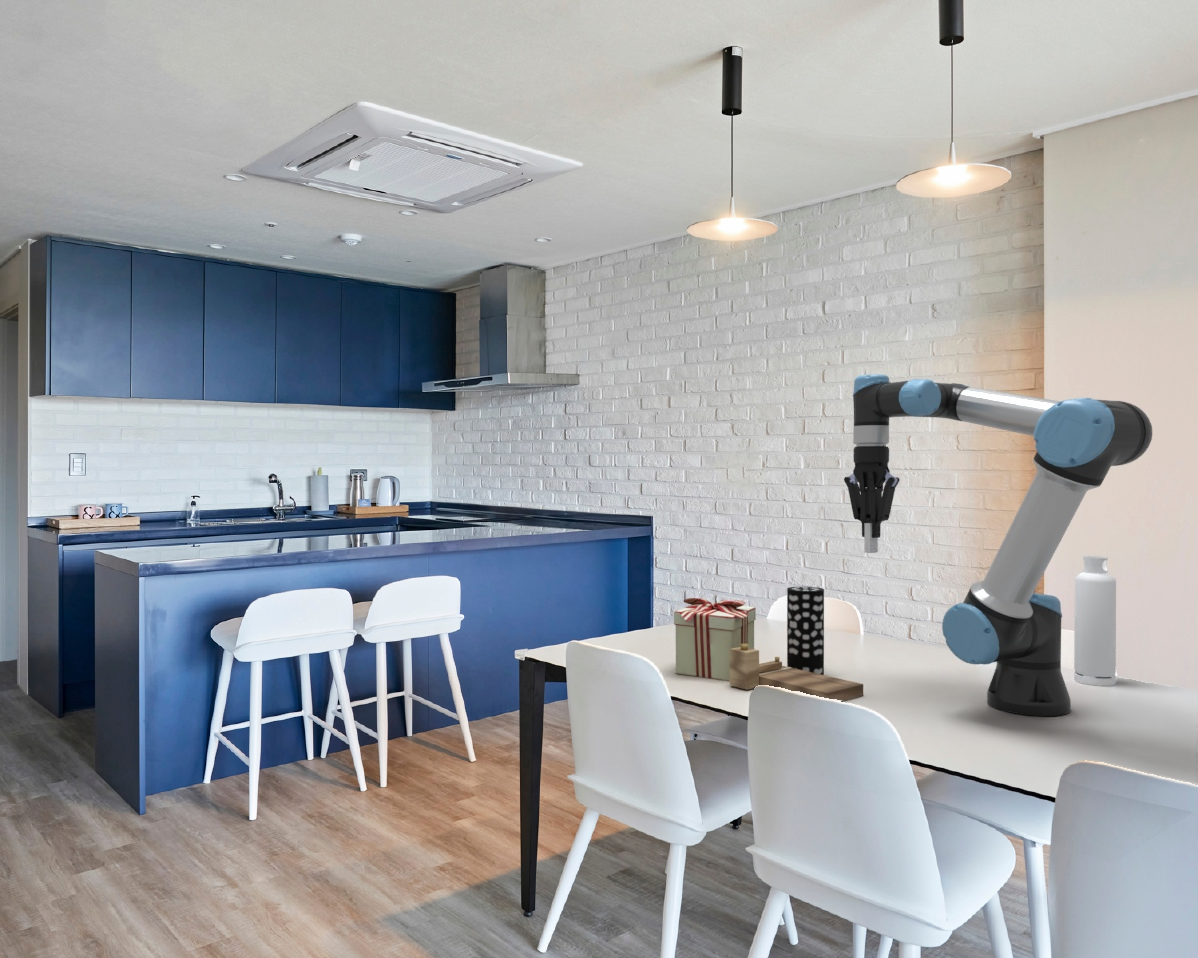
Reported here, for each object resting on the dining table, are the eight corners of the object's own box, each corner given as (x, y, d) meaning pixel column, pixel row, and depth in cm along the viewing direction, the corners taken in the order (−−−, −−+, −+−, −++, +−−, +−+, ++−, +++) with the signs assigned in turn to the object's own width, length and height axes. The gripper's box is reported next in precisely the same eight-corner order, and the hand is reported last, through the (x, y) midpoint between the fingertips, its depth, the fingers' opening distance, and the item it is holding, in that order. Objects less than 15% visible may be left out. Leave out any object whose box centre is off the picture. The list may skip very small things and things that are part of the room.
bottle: (1081, 675, 205) (1081, 554, 205) (1120, 681, 199) (1121, 556, 199) (1069, 681, 199) (1069, 557, 199) (1109, 687, 193) (1109, 559, 193)
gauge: (787, 680, 200) (787, 639, 200) (746, 689, 192) (746, 647, 191) (770, 676, 204) (770, 636, 204) (729, 685, 195) (729, 643, 195)
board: (863, 695, 187) (863, 683, 187) (827, 705, 180) (827, 692, 180) (772, 674, 207) (772, 663, 207) (736, 681, 200) (736, 670, 200)
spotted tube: (824, 679, 201) (824, 591, 201) (787, 678, 203) (787, 590, 203) (823, 671, 210) (823, 587, 209) (787, 669, 211) (787, 586, 211)
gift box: (668, 677, 204) (667, 603, 204) (694, 661, 221) (694, 592, 220) (740, 685, 197) (739, 607, 196) (761, 668, 213) (761, 596, 213)
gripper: (907, 445, 193) (907, 553, 193) (856, 446, 203) (856, 549, 203) (886, 444, 188) (886, 555, 188) (836, 445, 198) (836, 551, 199)
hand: (871, 552), depth 196 cm, fingers closed
